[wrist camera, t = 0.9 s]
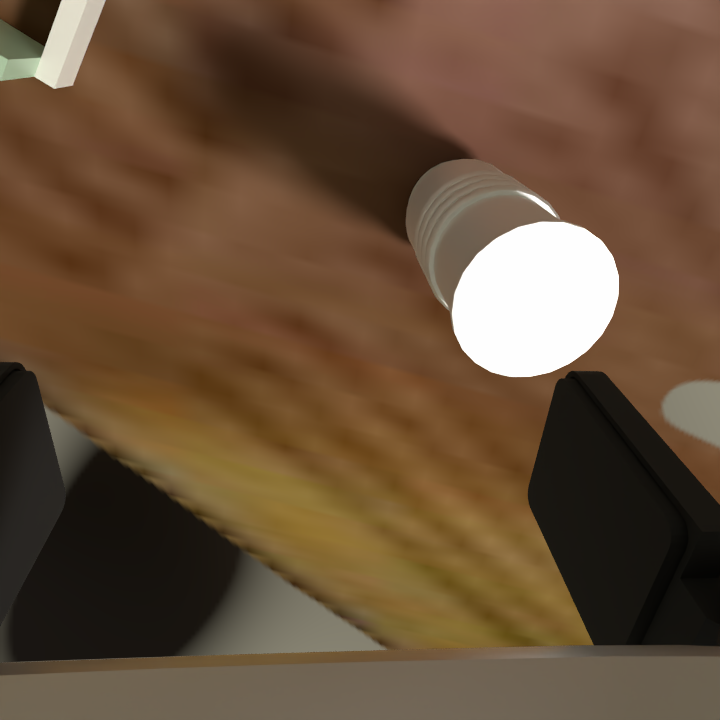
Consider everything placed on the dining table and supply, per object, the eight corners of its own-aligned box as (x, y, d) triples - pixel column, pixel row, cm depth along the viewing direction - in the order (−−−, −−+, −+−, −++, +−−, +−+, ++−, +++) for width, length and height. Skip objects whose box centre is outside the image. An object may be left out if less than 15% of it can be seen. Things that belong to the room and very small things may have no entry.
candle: (491, 268, 38) (585, 387, 25) (389, 252, 37) (432, 368, 24) (523, 162, 35) (650, 235, 22) (413, 141, 34) (477, 205, 21)
